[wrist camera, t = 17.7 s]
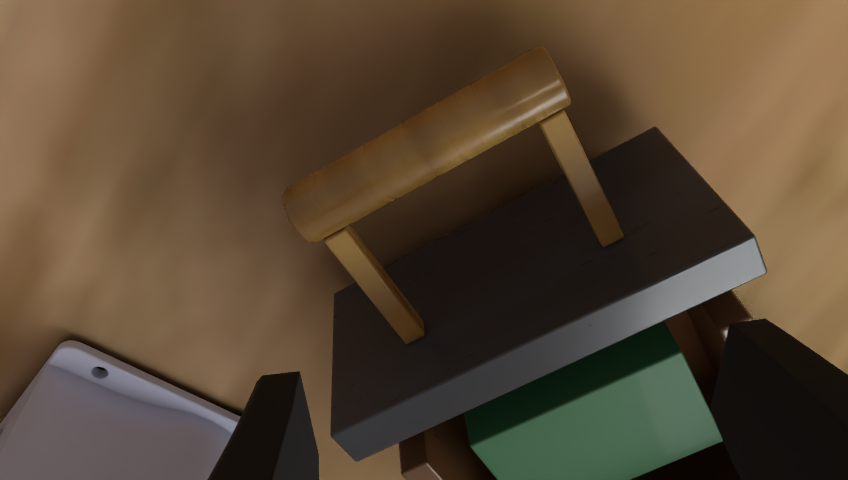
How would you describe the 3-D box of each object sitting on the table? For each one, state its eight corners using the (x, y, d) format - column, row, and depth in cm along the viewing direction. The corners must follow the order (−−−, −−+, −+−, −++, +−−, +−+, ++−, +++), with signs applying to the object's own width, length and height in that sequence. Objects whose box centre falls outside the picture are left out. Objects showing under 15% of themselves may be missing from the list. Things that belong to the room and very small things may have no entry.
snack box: (450, 346, 22) (469, 447, 18) (628, 260, 21) (682, 351, 17) (505, 419, 24) (531, 521, 20) (669, 344, 23) (725, 441, 19)
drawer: (227, 166, 19) (186, 293, 14) (587, -46, 17) (682, 20, 12) (504, 498, 28) (537, 644, 23) (761, 389, 26) (855, 525, 21)
